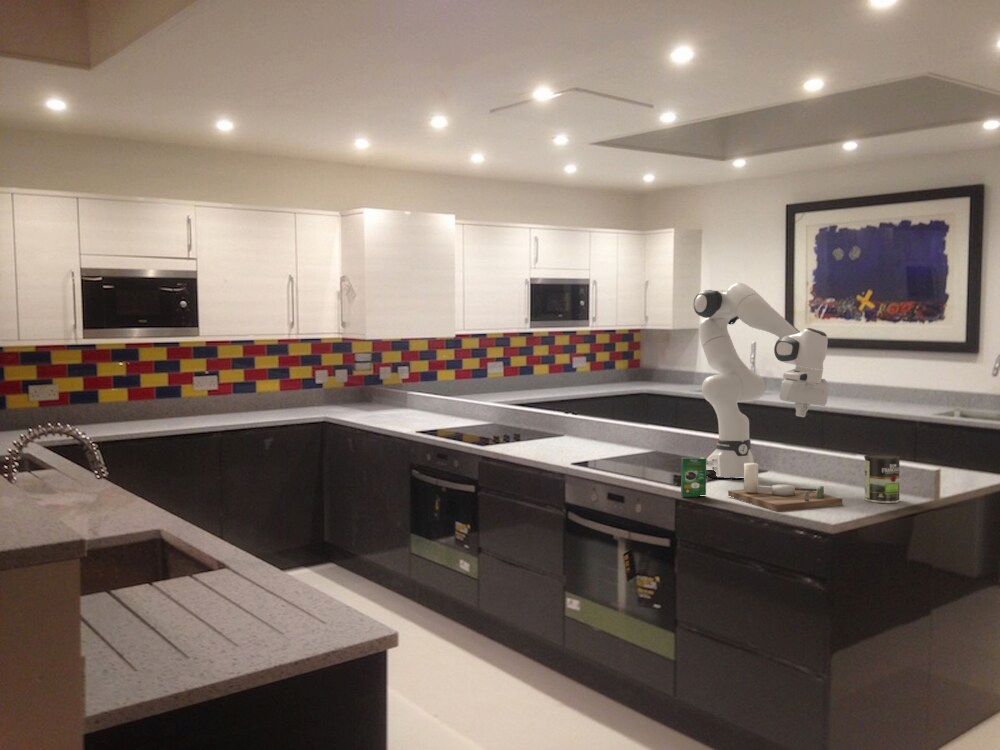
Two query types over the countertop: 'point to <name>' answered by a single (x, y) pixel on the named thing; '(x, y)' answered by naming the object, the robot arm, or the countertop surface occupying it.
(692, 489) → the coffee box
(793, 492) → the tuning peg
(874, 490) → the coffee can
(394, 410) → the countertop surface
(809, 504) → the board
